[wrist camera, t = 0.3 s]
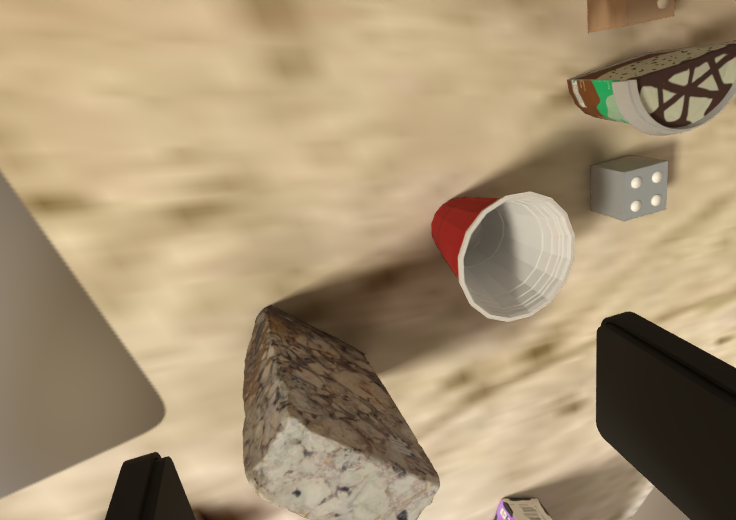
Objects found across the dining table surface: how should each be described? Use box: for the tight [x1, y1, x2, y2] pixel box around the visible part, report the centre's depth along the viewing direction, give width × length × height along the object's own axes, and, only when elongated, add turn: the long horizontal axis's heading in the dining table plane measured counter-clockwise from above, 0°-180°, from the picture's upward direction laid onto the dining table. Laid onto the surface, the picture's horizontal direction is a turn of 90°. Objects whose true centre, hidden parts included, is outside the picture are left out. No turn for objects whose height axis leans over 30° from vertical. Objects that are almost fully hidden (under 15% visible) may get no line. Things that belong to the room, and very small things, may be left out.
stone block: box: [243, 306, 440, 520], centre depth 40 cm, size 13×7×20 cm, turn 59°
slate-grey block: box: [590, 155, 668, 221], centre depth 50 cm, size 5×5×5 cm
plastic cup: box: [431, 191, 575, 322], centre depth 44 cm, size 11×11×12 cm
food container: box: [567, 40, 736, 136], centre depth 45 cm, size 12×6×10 cm, turn 106°
